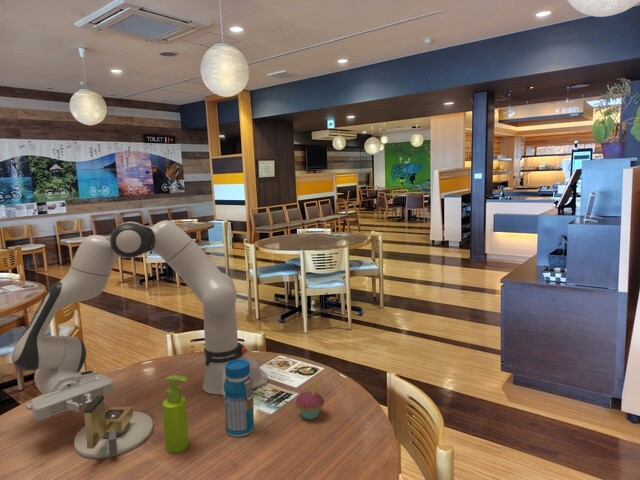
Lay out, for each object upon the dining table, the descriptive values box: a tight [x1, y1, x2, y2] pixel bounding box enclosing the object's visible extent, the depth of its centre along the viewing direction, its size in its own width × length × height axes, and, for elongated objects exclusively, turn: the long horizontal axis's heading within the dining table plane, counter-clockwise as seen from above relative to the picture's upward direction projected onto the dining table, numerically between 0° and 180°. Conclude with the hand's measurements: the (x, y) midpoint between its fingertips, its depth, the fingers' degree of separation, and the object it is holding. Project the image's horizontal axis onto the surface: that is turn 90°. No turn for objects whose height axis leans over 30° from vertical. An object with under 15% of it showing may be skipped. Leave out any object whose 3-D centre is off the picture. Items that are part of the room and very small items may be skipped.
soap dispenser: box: [162, 375, 189, 454], centre depth 114 cm, size 6×7×20 cm
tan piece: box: [82, 396, 134, 449], centre depth 115 cm, size 17×8×12 cm, turn 2°
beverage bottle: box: [223, 359, 255, 438], centre depth 122 cm, size 8×8×20 cm
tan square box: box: [102, 411, 130, 439], centre depth 120 cm, size 8×8×5 cm
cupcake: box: [295, 379, 325, 420], centre depth 129 cm, size 9×8×12 cm
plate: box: [73, 411, 154, 459], centre depth 119 cm, size 20×22×6 cm
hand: (84, 406), depth 114 cm, fingers closed
